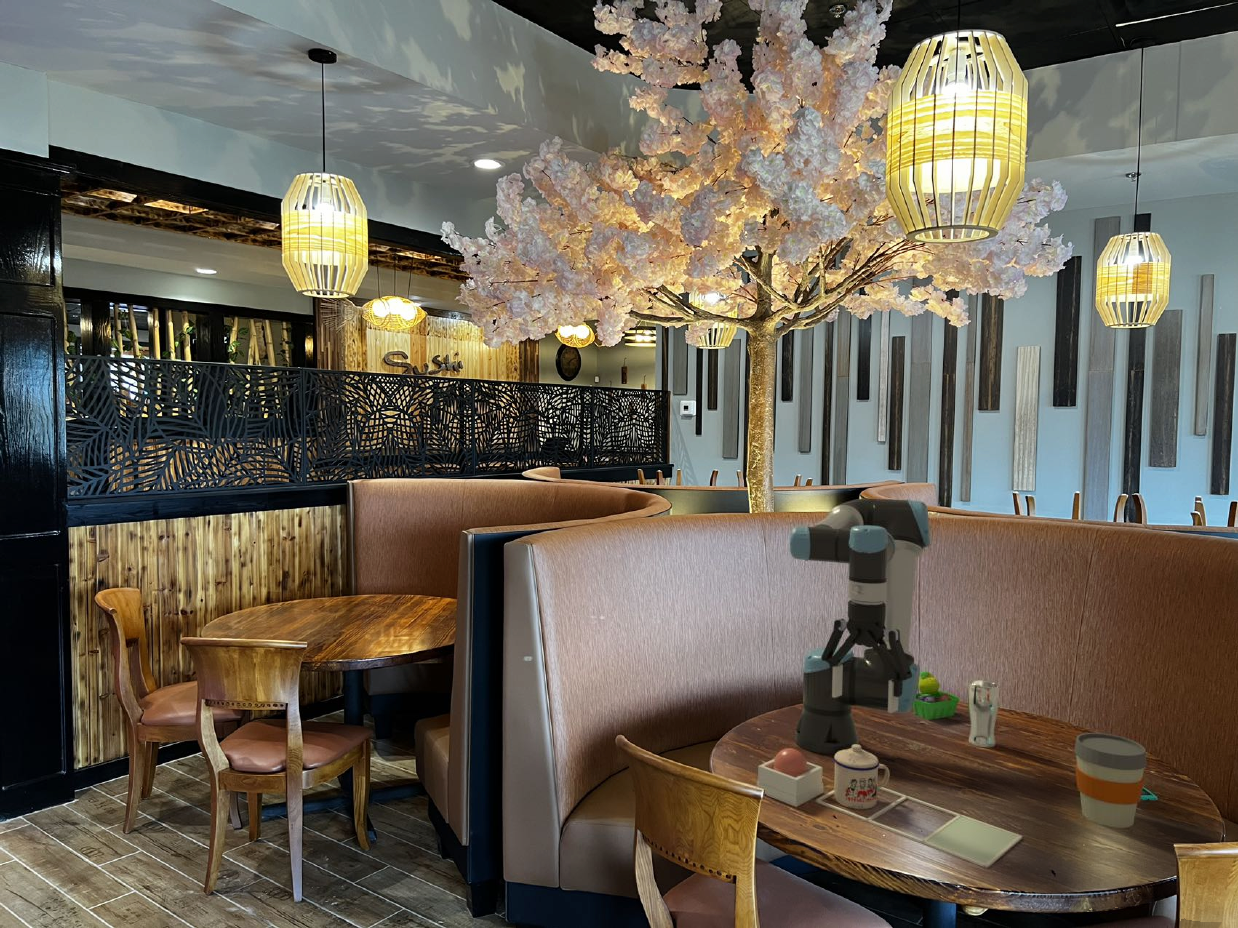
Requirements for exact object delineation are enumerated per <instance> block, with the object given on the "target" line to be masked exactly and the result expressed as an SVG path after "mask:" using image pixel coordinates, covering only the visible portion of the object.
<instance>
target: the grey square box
mask: <svg viewBox="0 0 1238 928" xmlns="http://www.w3.org/2000/svg"><path fill="white" fill-rule="evenodd" d="M774 759H775V758H772V759H771V760H769V761H766V762H763V763H762V764H760V765H758V767H757V768H758V769H757V770H758V771H757V781H756V788H757V787H759V788H763V789H764V790H765V794H766V796H767V797H770V798H773V799H775V800H778V801H779V802H782V803H785V804H788V805H789V806H792V807H795V808H798V806H801V805H803V804H805V803H807V802H808V801H810V800H812V799H815V798H816V797H817V796H820V795H821V794H823V793H824V782H823V766H820V765H817V764H814V763H811V762H808V761H806V762H807V772H806V773H804V774H802V775H800V776H798V777H796V778H795V777H792V776H789V775H787V774H784V773H781V772H779V771H776V770H774ZM765 794H764V795H765Z"/></svg>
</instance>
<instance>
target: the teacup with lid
mask: <svg viewBox="0 0 1238 928" xmlns="http://www.w3.org/2000/svg"><path fill="white" fill-rule="evenodd" d="M833 761H834V781H833V782H834V784H833V785H834V786H833V788H834V789H833V790H834V794H833V797H834V800H835V801H836V802H837V803H838V804H839V805H841V806H843V807H846V808H850V809H855V810H866V809H867V810H868V809H871V808H874V807H875V806H876V805H877V803H878V790H879V789H878V788H882V787H883V788H884V786H886V785H887V783H888V782H889V780H890V779H889V778H890V770H889V768H888V767H887V766H886V765H885V764H883V763H880V762H879V759H878V757H877V756H876V755H874V754H873V753H871V752H869V751H866V750H864V749H862V746H861V744H858V745H857V744H854V745H852V748H850V749H847V750H841V751H839V752H837V753H836V754H834V757H833ZM879 769H883V770H884V776H883V778H882V779H881V781H879V782H878V778H879V777H878V774H879V773H878V772H879Z"/></svg>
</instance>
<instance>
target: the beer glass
mask: <svg viewBox="0 0 1238 928" xmlns="http://www.w3.org/2000/svg"><path fill="white" fill-rule="evenodd" d="M968 682H969V684H968V690H967V691H968V693H967V706H968V707H967V708H968V715H969V720H970V732H969V737H968V742H969V744H971V745H972V746H975V747H978V746H979V748H985V749H986V748H988V749H989V748H993V747H995V746H996V739H995V726H996V725H995V724H996V720H997V716H998V711H999V703H1000V702H999V701H1000V700H999V698H1000V697H999V695H1000V693H999V684H998V683H996V682H994V681H991V680H986V679H972V680H971V679H970V681H968Z"/></svg>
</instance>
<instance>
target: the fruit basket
mask: <svg viewBox="0 0 1238 928" xmlns="http://www.w3.org/2000/svg"><path fill="white" fill-rule="evenodd" d="M940 687H941V686H940V682H939V681H938V679H937V678H936V677H935V676H934V675H933V674H932V673H931V672H929V671H928V670H927V671H926V670H924V671H920V677H919V685H918V690H919V691H920V693H917V695H916V698H915V702H914V705H913V707H912V708H913V712H914V715H917V716H919V717H920V718H922V719H925V720H927V721H930V720H938V719H940V718H941V719H942V718H944V719H945V718H948V717H949V718H950V717H954V716H955V712H956V710H957V706H958V703H959V702H960V699H961V698H959V697H958V696H955V695H953V694H951V693H949V692H946V691H942V690H939V689H940Z"/></svg>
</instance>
